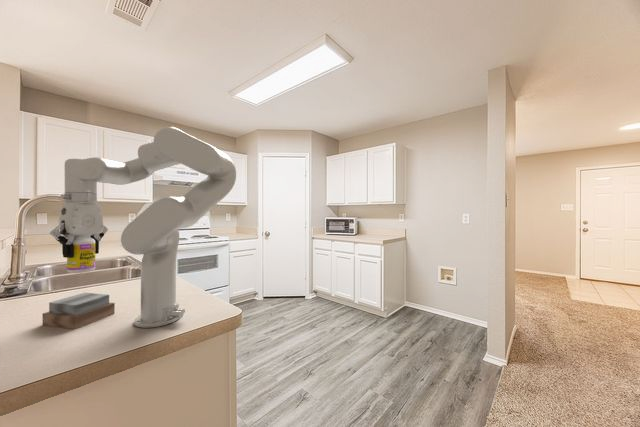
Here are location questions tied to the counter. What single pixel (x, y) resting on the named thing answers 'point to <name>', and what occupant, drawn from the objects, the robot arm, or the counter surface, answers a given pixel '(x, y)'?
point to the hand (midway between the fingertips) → (81, 254)
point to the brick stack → (78, 310)
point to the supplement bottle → (82, 255)
